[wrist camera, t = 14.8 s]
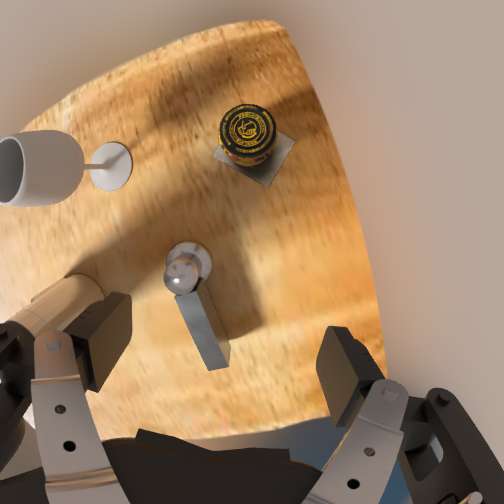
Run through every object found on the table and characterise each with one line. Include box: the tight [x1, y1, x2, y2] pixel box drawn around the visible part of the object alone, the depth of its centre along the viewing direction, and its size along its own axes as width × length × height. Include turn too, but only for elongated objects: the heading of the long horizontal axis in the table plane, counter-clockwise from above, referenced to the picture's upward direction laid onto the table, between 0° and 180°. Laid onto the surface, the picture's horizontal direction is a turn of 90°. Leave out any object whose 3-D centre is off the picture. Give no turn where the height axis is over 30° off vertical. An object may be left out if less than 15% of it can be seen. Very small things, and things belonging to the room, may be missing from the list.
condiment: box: [212, 104, 295, 188], centre depth 30 cm, size 7×8×12 cm
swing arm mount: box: [166, 241, 212, 281], centre depth 39 cm, size 6×6×1 cm
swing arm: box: [164, 252, 231, 371], centre depth 37 cm, size 16×4×5 cm, turn 17°
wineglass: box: [0, 130, 132, 207], centre depth 25 cm, size 8×8×21 cm
